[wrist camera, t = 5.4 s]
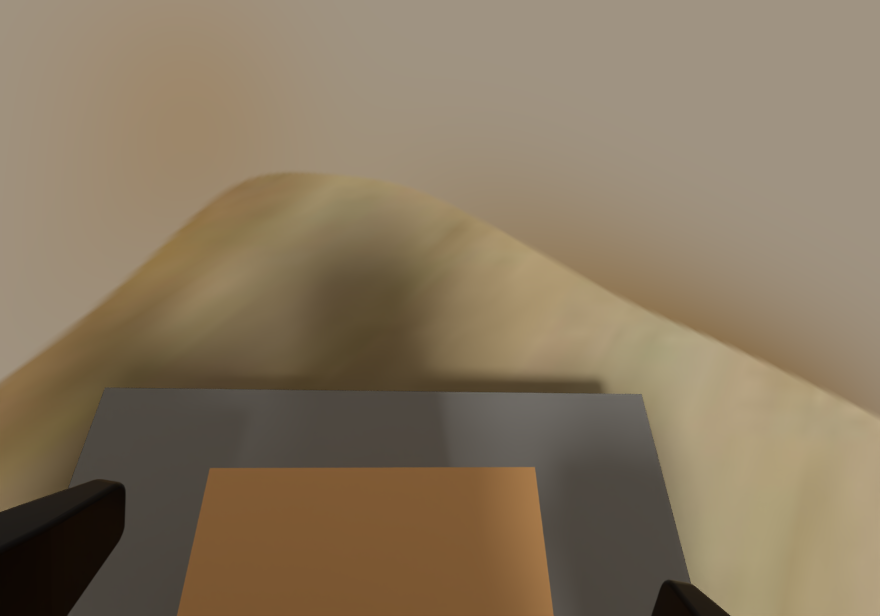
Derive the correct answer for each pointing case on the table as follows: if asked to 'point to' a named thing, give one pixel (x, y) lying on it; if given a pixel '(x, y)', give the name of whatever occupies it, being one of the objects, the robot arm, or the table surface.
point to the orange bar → (369, 543)
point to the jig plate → (384, 446)
